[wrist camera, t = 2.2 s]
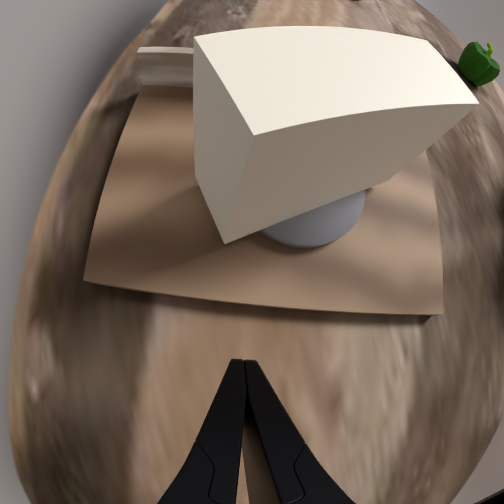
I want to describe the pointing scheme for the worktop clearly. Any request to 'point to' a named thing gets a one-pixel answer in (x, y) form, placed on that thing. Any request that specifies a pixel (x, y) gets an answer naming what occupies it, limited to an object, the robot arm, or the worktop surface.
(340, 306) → the shelf board
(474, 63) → the bell pepper
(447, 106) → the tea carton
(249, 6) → the worktop surface
